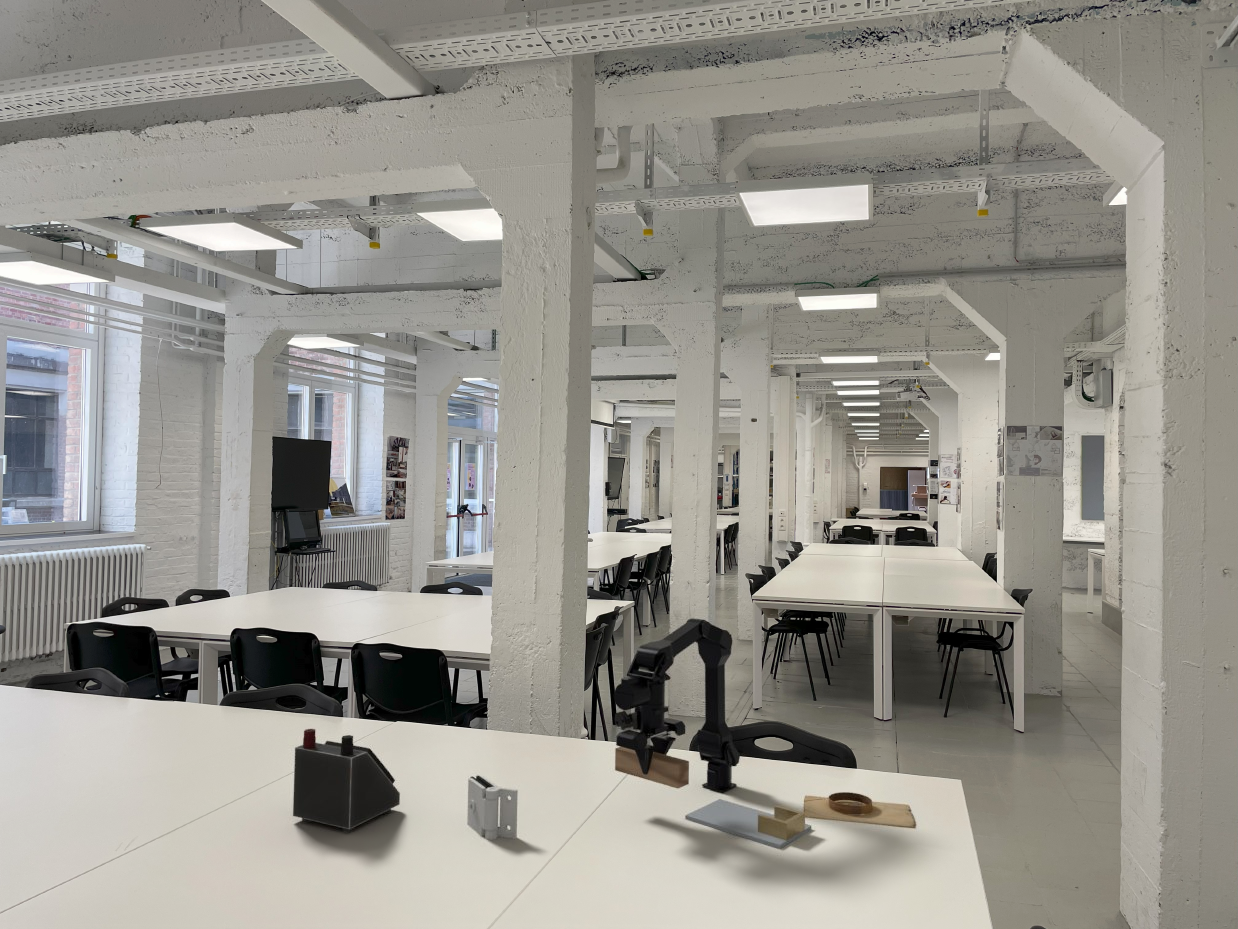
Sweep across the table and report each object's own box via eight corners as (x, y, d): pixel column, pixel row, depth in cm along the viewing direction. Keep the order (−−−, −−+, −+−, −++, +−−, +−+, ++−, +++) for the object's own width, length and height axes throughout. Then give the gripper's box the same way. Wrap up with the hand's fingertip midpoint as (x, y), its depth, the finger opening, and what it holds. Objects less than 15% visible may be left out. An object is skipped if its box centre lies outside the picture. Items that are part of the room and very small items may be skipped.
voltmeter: (400, 810, 191) (402, 722, 192) (349, 836, 176) (351, 740, 177) (346, 798, 198) (348, 713, 198) (292, 822, 183) (295, 730, 184)
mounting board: (719, 802, 199) (719, 799, 199) (811, 829, 183) (811, 825, 183) (685, 819, 188) (685, 815, 188) (779, 849, 172) (779, 845, 173)
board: (801, 820, 190) (801, 806, 190) (801, 797, 205) (801, 784, 205) (916, 831, 184) (916, 817, 185) (908, 807, 199) (908, 793, 199)
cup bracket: (776, 821, 185) (776, 805, 186) (804, 829, 181) (805, 813, 181) (757, 831, 179) (757, 815, 179) (786, 840, 175) (786, 823, 175)
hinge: (517, 838, 176) (518, 790, 177) (497, 845, 172) (498, 796, 173) (478, 819, 186) (479, 774, 186) (458, 826, 182) (459, 779, 182)
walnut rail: (626, 766, 196) (626, 744, 196) (688, 784, 184) (688, 761, 184) (615, 770, 193) (615, 748, 193) (678, 788, 181) (678, 765, 181)
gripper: (649, 689, 201) (648, 755, 201) (598, 703, 187) (597, 773, 187) (687, 697, 194) (686, 765, 194) (636, 712, 180) (635, 785, 179)
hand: (651, 771), depth 188 cm, fingers closed on walnut rail, 4 cm apart
